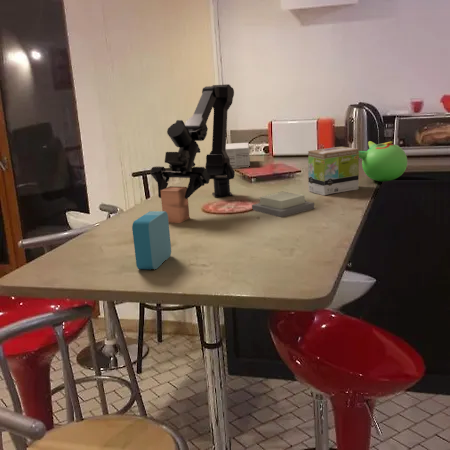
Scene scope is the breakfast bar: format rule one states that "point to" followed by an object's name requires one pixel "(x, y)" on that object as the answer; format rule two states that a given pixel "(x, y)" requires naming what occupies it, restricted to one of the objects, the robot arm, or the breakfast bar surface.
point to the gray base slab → (284, 211)
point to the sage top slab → (282, 200)
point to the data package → (151, 239)
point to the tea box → (333, 170)
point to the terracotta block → (175, 203)
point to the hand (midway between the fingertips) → (172, 197)
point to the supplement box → (238, 154)
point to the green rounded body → (383, 161)
